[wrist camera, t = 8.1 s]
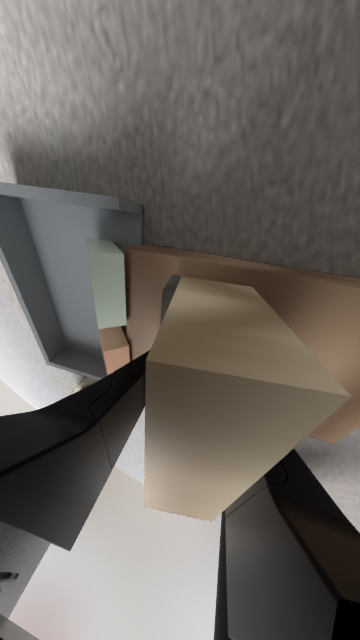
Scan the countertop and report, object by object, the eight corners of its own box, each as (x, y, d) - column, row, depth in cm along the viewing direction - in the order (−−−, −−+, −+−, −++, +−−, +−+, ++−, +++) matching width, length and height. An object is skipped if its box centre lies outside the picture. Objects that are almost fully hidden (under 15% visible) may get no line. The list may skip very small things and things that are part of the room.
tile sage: (123, 253, 7) (86, 251, 7) (126, 325, 9) (98, 329, 9) (111, 240, 10) (84, 238, 9) (115, 297, 12) (94, 298, 11)
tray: (142, 204, 9) (118, 196, 7) (142, 369, 16) (130, 390, 14) (17, 189, 10) (-36, 177, 8) (68, 348, 18) (46, 364, 15)
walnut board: (422, 289, 8) (516, 315, 5) (312, 402, 13) (334, 444, 10) (147, 243, 10) (121, 247, 8) (145, 356, 15) (129, 381, 13)
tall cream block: (252, 287, 7) (352, 396, 2) (207, 408, 11) (211, 521, 7) (172, 274, 7) (120, 355, 2) (160, 399, 11) (135, 505, 7)
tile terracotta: (128, 345, 10) (103, 351, 10) (131, 384, 12) (110, 392, 12) (116, 316, 13) (96, 319, 12) (120, 352, 15) (103, 356, 14)
